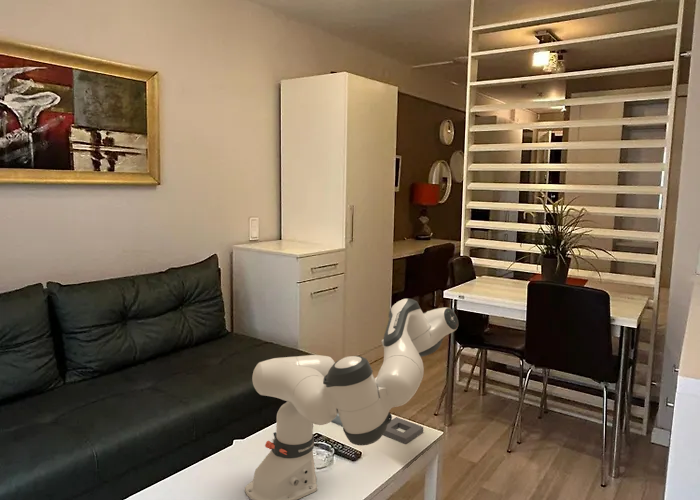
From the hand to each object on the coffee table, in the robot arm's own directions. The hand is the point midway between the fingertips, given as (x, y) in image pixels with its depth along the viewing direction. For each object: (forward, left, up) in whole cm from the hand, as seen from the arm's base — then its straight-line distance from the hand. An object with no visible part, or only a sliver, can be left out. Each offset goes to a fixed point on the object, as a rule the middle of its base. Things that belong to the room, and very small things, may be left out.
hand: (392, 336), depth 183 cm
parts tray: (+3, +22, -38) cm, 44 cm away
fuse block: (+6, -1, -38) cm, 38 cm away
